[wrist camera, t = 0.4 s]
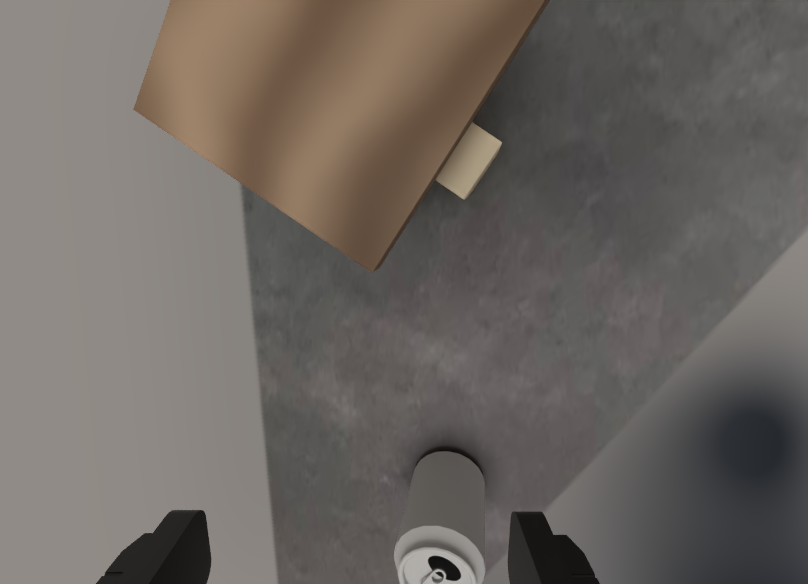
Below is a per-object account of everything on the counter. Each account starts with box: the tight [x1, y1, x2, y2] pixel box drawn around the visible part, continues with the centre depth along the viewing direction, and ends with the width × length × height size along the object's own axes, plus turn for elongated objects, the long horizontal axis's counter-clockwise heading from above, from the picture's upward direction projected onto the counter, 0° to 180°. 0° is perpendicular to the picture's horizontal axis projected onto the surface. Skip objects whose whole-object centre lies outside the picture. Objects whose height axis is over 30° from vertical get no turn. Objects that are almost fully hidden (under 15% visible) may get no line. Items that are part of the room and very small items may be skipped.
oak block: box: [436, 122, 502, 199], centre depth 29 cm, size 4×4×10 cm
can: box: [394, 451, 485, 584], centre depth 36 cm, size 8×8×12 cm
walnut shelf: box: [134, 0, 550, 273], centre depth 26 cm, size 14×14×18 cm
